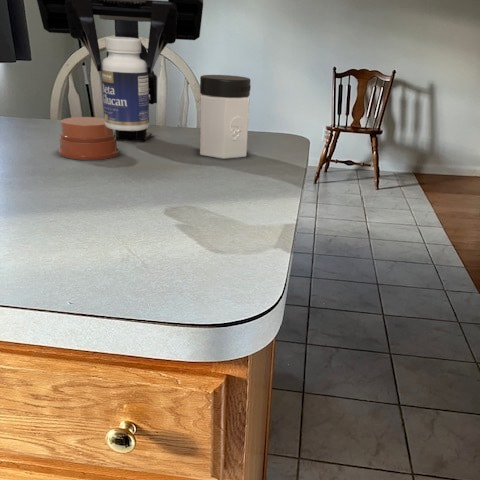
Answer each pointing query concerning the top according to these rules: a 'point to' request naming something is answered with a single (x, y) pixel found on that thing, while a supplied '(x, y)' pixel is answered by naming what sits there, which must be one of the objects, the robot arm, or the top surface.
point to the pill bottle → (125, 85)
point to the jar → (224, 116)
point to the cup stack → (87, 139)
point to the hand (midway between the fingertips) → (124, 69)
